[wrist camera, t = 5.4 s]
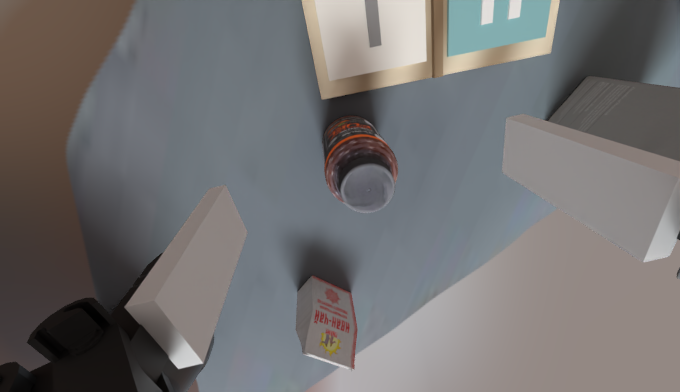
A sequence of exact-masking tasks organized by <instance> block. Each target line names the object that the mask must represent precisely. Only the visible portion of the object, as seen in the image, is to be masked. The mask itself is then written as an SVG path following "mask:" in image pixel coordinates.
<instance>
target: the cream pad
mask: <svg viewBox="0 0 680 392" xmlns="http://www.w3.org/2000/svg"><path fill="white" fill-rule="evenodd" d="M314 2H315V7H316V12H317V18H318V23H319V29H320V34H321V40H322V45H323V51H324V56H325V62H326V67H327V72H328V78H329V81H332V80H337V79H342V78H347V77H352V76H357V75H362V74H367V73H372V72H376V71H381V70H386V69H391V68H396V67H401V66H406V65H411V64H416V63H421V62H425V61H427V54H426V13H425V0H314Z"/></svg>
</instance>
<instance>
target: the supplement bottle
mask: <svg viewBox="0 0 680 392" xmlns="http://www.w3.org/2000/svg"><path fill="white" fill-rule="evenodd" d="M322 149H323V159H324V170H325V178H326V182H327V185H328V187H329V189H330V191H331V192H332V194H333V195H334V196H335V197H336V198H337V199H339V200H340V201H341V202H343V203H345V204H346V205H347V206H348V207H349V208H350V209H352V210H354V211H356V212H360V213H372V212H375V211H378V210H380V209H382V208H383V207H385V206H386V205H387V204H388V203H389V202H390V200H391V199H392V197H393V195H394V192H395V182H396V179H397V175H398V164H397V160H396V158H395V155H394V153H393V152H392V150H391V149H390V147H389V146H388V145H387V143H386V142H385V141H384V139H383V138H382V137H381V136H380V134H379V133H378V132H377V130H376V129H375V128H374V127H373V125H372V124H371V123H369V122H368V121H367V120H365V119H364V118H361V117H358V116H344V117H341V118H339V119H337V120H335V121H334V122H333V123H332V124H331V125H330V126H329V127H328V128H327V130H326V132H325V133H324V136H323V142H322Z"/></svg>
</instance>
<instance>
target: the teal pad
mask: <svg viewBox="0 0 680 392" xmlns="http://www.w3.org/2000/svg"><path fill="white" fill-rule="evenodd" d="M550 5H551V0H447V57H450V56H455V55H460V54H465V53H470V52H475V51H479V50H484V49H489V48H494V47H499V46H504V45H509V44H514V43H519V42H524V41H528V40H533V39H538V38H543V37H546V31H547V25H548V18H549V12H550Z"/></svg>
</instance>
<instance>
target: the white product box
mask: <svg viewBox="0 0 680 392" xmlns="http://www.w3.org/2000/svg"><path fill="white" fill-rule="evenodd" d="M296 331H297V334H298V337H299V340H300V342H301V346H302V352H303V354H304V355H307V356H310V357H313V358H316V359H319V360H322V361H325V362H328V363H331V364H334V365H337V366H340V367H343V368H346V369H349V370H352V369H354V358H355V347H356V338H357V324H356V318H355V312H354V306H353V301H352V295H351V293H350V292H348V291H346V290H343V289H341V288H339V287H337V286H335V285H333V284H330V283H328V282H326V281H324V280H322V279H320V278H317V277H315V276H313V275H312V276H311V277H310V278H309V279H308V280H307V282H306V283H305V284H304V285H303V286H302V287H301V289H300V290H299V291H298V293H297V314H296Z"/></svg>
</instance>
